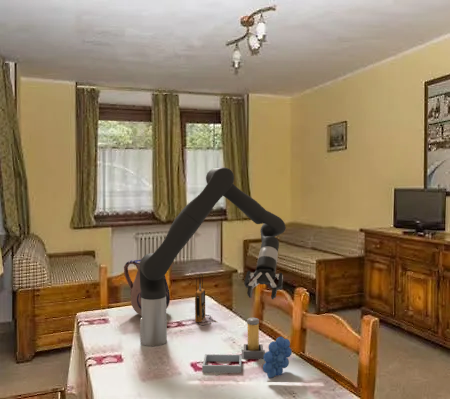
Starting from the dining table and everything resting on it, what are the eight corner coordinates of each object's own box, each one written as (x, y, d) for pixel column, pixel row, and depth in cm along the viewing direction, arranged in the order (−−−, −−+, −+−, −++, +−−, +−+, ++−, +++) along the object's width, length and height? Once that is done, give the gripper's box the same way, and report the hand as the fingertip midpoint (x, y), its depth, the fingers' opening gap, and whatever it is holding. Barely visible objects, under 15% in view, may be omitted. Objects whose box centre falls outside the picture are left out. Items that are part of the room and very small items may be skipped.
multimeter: (215, 326, 177) (215, 279, 176) (192, 325, 179) (192, 278, 178) (223, 316, 191) (222, 271, 190) (201, 314, 193) (201, 271, 192)
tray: (202, 374, 132) (202, 365, 132) (205, 362, 141) (205, 354, 141) (241, 375, 131) (240, 366, 131) (241, 363, 140) (241, 354, 140)
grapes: (280, 366, 137) (280, 329, 137) (296, 373, 132) (296, 335, 132) (254, 376, 130) (253, 338, 130) (269, 384, 125) (269, 344, 124)
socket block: (241, 361, 142) (241, 352, 142) (241, 351, 150) (241, 343, 150) (265, 361, 141) (265, 352, 141) (264, 352, 149) (264, 343, 149)
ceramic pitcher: (167, 320, 186) (166, 263, 185) (119, 320, 186) (117, 263, 185) (172, 308, 203) (171, 256, 202) (128, 309, 203) (127, 257, 202)
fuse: (247, 356, 144) (247, 321, 143) (247, 351, 148) (247, 317, 147) (259, 356, 143) (259, 321, 143) (259, 351, 147) (258, 317, 147)
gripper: (247, 254, 166) (240, 290, 155) (284, 255, 161) (278, 293, 151) (251, 265, 171) (244, 301, 161) (286, 267, 167) (281, 304, 156)
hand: (261, 297), depth 156 cm, fingers open, 8 cm apart
